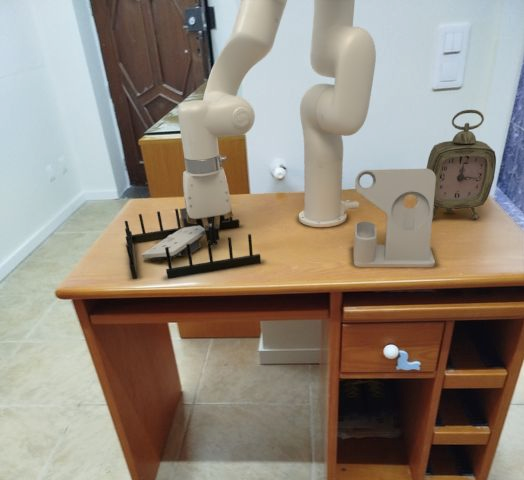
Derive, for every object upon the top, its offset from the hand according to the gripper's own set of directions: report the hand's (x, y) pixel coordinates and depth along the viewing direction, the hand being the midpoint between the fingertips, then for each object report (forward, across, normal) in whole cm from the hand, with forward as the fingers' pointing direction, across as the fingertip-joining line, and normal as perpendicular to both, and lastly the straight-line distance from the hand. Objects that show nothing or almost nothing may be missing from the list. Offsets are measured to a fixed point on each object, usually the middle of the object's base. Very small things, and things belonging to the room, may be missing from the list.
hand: (213, 243), depth 115 cm
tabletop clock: (+2, -62, +3) cm, 62 cm away
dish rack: (+1, +6, 0) cm, 6 cm away
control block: (+2, -1, -19) cm, 19 cm away
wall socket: (+2, +9, -2) cm, 9 cm away
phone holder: (+2, -37, +20) cm, 42 cm away
